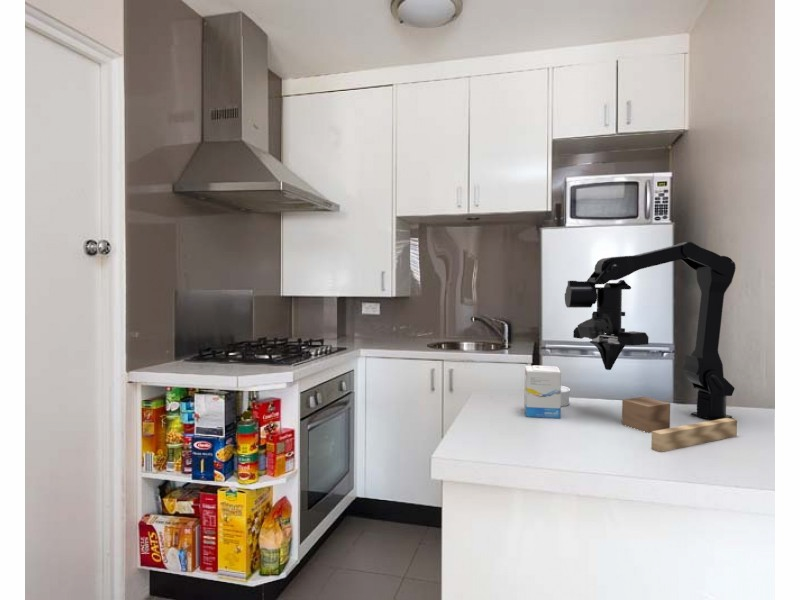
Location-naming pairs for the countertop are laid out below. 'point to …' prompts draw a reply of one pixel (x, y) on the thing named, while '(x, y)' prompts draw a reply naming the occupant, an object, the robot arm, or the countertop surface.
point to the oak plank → (693, 434)
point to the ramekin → (564, 395)
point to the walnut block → (646, 414)
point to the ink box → (542, 391)
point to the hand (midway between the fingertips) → (608, 369)
